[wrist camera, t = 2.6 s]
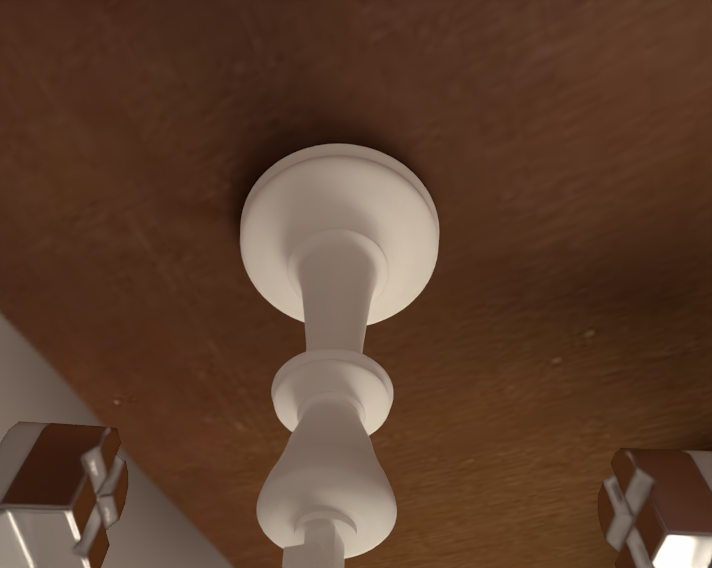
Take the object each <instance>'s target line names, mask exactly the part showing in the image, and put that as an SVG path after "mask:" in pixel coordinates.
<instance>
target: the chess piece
mask: <svg viewBox="0 0 712 568" xmlns="http://www.w3.org/2000/svg"><path fill="white" fill-rule="evenodd" d="M438 244H439V221H438V216H437V212H436V208H435V205H434V203H433V200H432V198H431V196H430V194H429V192H428V191H427V189H426V188H425V186H424V185H423V183H422V182H421V181H420V180H419V178H418V177H417V176H416V175H415V174H414V173H413V172H412V171H411V170H410V169H408V168H407V167H406V166H405V165H403V164H402V163H400V162H399V161H397V160H396V159H394V158H392V157H391V156H389V155H387V154H384V153H382V152H380V151H377V150H374V149H371V148H368V147H364V146H359V145H352V144H324V145H318V146H313V147H309V148H305V149H302V150H300V151H297V152H294V153H292V154H290V155H288V156H286V157H284V158H283V159H281V160H280V161H278V162H277V163H275V164H274V165H273V166H271V167H270V168H269V169H268V170H267V171H266V172H265V173H264V174H263V175H262V176H261V177H260V178H259V179H258V181H257V182H256V183H255V185H254V186H253V188H252V189H251V191H250V193H249V195H248V197H247V199H246V202H245V204H244V208H243V211H242V216H241V224H240V249H241V255H242V260H243V263H244V266H245V269H246V271H247V274H248V276H249V277H250V279H251V281H252V283H253V284H254V286H255V287H256V289H257V290H258V291H259V292H260V293H261V295H262V296H263V297H264V298H265V299H266V300H267V301H268V302H270V303H271V304H272V305H273V306H274V307H276V308H277V309H279V310H280V311H282V312H283V313H285V314H287V315H289V316H290V317H292V318H295V319H297V320H299V321H302V322H305V335H306V352H304V353H301V354H299V355H297V356H295V357H293V358H292V359H290V360H289V361H287V362H286V363H285V364H284V365H283V366H282V367H281V368H280V369H279V371H278V372H277V374H276V376H275V378H274V380H273V383H272V389H271V394H272V400H273V403H274V408H275V411H276V414H277V416H278V418H279V419H280V421H281V422H282V423H283V424H284V426H285V427H286V428H288V429H289V430H290V431H291V432H293V433H292V434H291V436H290V438H289V440H288V443H287V446H286V448H285V450H284V452H283V454H282V455H281V457H280V459H279V461H278V462H277V463H276V465H275V466H274V467H273V469H272V470H271V472H270V474H269V476H268V477H267V479H266V481H265V483H264V485H263V487H262V489H261V492H260V494H259V497H258V501H257V507H256V512H257V518H258V522H259V524H260V526H261V528H262V530H263V531H264V533H265V534H266V535H267V536H268V537H269V538H270V539H271V540H272V541H273V542H274V543H275V544H277V545H278V546H280V547H281V548H283V549H284V554H283V563H282V568H344V558H349V557H353V556H357V555H360V554H362V553H365V552H367V551H369V550H371V549H372V548H374V547H376V546H377V545H378V544H380V543H381V542H382V541H383V540H384V539H385V538H386V537H387V536H388V535H389V533H390V532H391V530H392V529H393V527H394V524H395V521H396V516H397V507H396V501H395V497H394V494H393V491H392V489H391V486H390V484H389V481H388V479H387V477H386V474H385V473H384V471H383V469H382V468H381V466H380V464H379V462H378V460H377V458H376V456H375V453H374V450H373V447H372V443H371V440H370V438H369V435H370V434H372V433H373V432H375V431H376V430H377V429H378V428H379V427H380V426H381V425H382V424H383V423H384V421H385V420H386V418H387V416H388V414H389V410H390V408H391V405H392V402H393V386H392V382H391V380H390V378H389V376H388V374H387V373H386V371H385V370H384V369H383V368H382V367H381V366H380V365H379V364H378V363H377V362H375V361H374V360H373V359H371V358H369V357H368V356H366V355H364V354H362V352H363V344H364V338H365V332H366V326H367V325H370V324H374V323H377V322H380V321H382V320H385V319H387V318H389V317H391V316H393V315H395V314H396V313H398V312H399V311H401V310H402V309H404V308H405V307H406V306H408V305H409V304H410V303H411V302H412V301H413V300H414V299H415V298H416V297H417V296H418V295H419V294H420V293H421V292H422V290H423V289H424V287H425V286H426V284H427V283H428V281H429V279H430V277H431V275H432V273H433V270H434V268H435V264H436V260H437V255H438Z"/></svg>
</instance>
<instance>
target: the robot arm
mask: <svg viewBox="0 0 712 568" xmlns="http://www.w3.org/2000/svg"><path fill="white" fill-rule="evenodd" d="M120 444H121V440H120V437H119V434H118V430H117V428H113V427H102V426H87V425H72V424H57V423H35V422H20V421H19V422H18V423H17V424H15V425H14V426H13V427H11V428H10V429H9V430H8V432H7V434H6V435H5V437H4V438H3V440H2V441H1V443H0V568H101V566H102V563H103V561H104V558H105V555H106V553H107V550H108V548H109V541H108V538H107V534H106V530H107V529H109V528H110V527H111V526H112V525H113V524H115V523H116V522H117V521H118V520H119V518H120V516H121V513H122V510H123V508H124V505H125V500H126V494H127V489H128V470H127V466H126V461H124V460H123V459H122V458H121V457H120V456H118V455H117V452H118V449H119V447H120ZM611 465H612V468H613V470H614V472H615V474H614V475H612V476H611V477H609V478H608V479H606V480H605V481H603V484H602V486H601V489H600V492H599V495H598V515H599V520H600V525H601V528H602V531H603V534H604V537H605V539H606V540H607V541H608V542H609V543H610V544H611V545H612V546H613V547H614V548H615V549H616V550H617V551H619V555H618V557H617V560H616V562H615V567H616V568H712V451H688V450H683V451H680V450H669V449H636V448H621V449H620V450H618V451H617V452H616V453H615V455H614V457H613V460H612V462H611Z"/></svg>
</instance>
